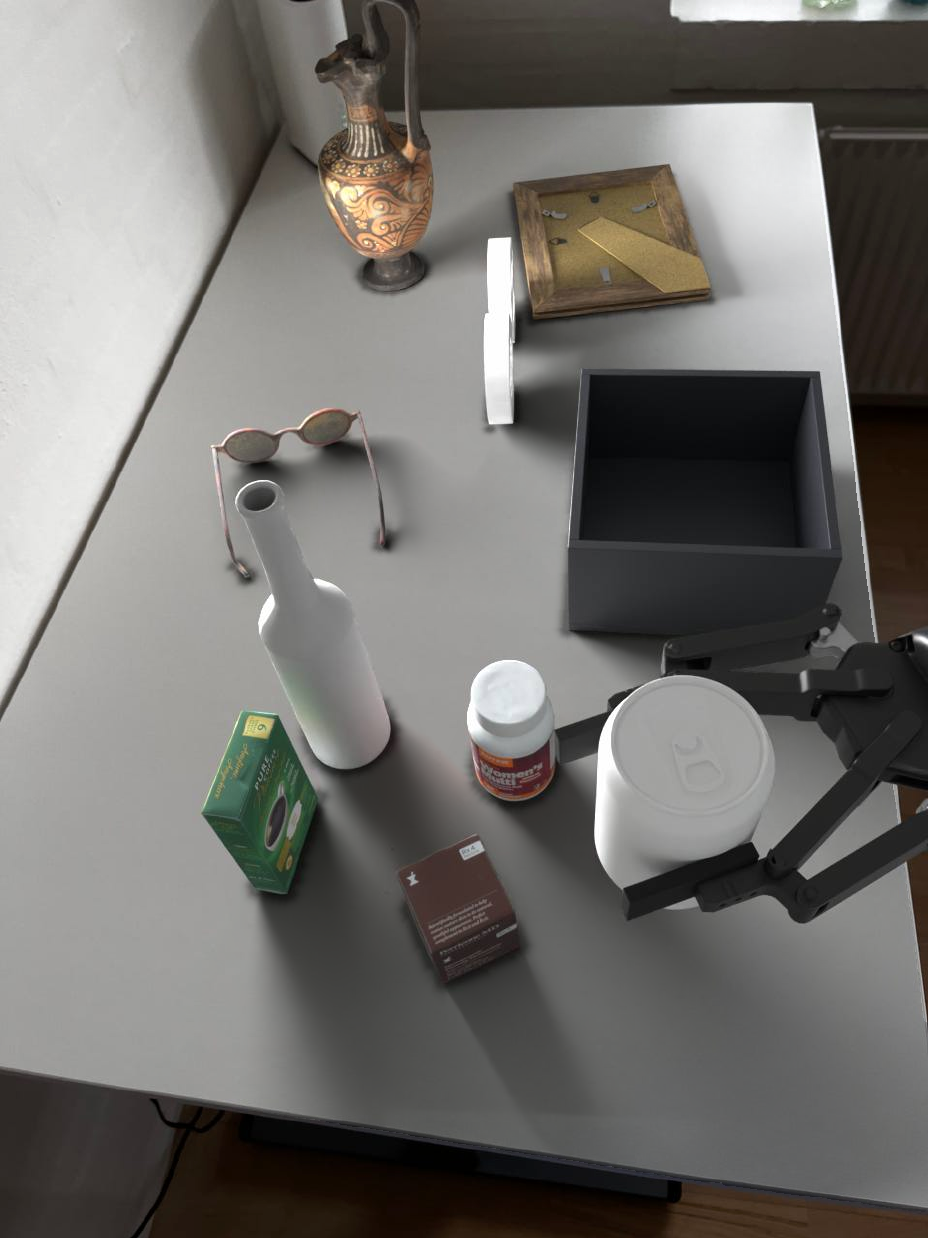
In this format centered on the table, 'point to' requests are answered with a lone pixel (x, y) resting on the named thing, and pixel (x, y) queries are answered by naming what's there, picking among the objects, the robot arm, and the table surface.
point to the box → (460, 908)
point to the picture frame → (607, 242)
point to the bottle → (314, 642)
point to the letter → (500, 332)
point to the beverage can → (679, 778)
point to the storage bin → (700, 501)
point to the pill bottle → (511, 730)
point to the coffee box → (261, 801)
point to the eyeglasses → (263, 445)
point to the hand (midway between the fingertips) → (589, 822)
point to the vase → (378, 154)
